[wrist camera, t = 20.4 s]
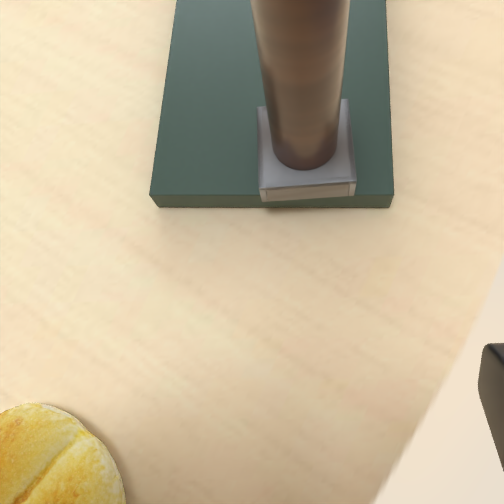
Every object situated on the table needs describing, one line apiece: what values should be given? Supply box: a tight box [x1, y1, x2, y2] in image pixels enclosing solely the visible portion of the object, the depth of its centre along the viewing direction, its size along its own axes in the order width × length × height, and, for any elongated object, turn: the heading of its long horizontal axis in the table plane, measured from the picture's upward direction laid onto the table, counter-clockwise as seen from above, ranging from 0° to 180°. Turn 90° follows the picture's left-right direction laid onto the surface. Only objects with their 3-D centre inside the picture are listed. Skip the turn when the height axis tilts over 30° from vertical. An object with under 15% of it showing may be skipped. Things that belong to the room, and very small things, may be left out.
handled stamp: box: [250, 0, 357, 202], centre depth 17 cm, size 4×4×14 cm
